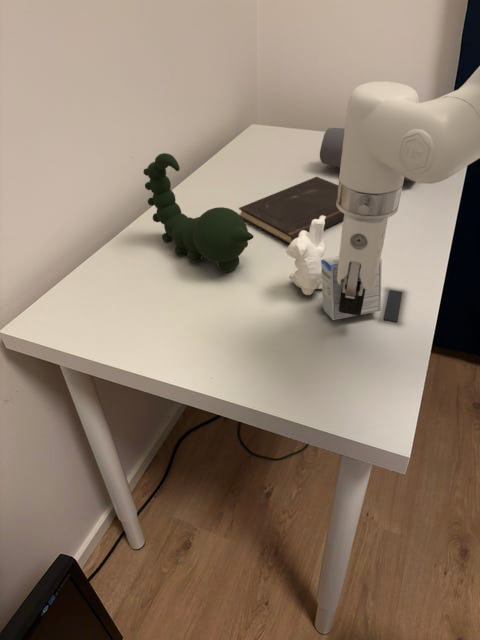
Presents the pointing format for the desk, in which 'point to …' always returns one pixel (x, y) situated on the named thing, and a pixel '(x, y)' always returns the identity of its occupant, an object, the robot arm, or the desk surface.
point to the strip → (393, 306)
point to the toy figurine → (195, 222)
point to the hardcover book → (294, 209)
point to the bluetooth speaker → (333, 147)
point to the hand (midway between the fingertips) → (350, 310)
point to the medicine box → (334, 289)
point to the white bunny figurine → (308, 257)
